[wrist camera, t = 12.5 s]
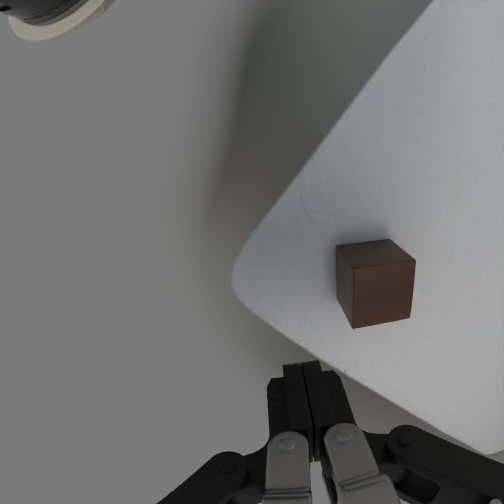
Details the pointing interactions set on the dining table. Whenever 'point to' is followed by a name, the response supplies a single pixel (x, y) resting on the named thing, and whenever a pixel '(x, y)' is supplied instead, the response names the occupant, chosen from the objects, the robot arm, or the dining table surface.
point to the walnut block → (374, 282)
